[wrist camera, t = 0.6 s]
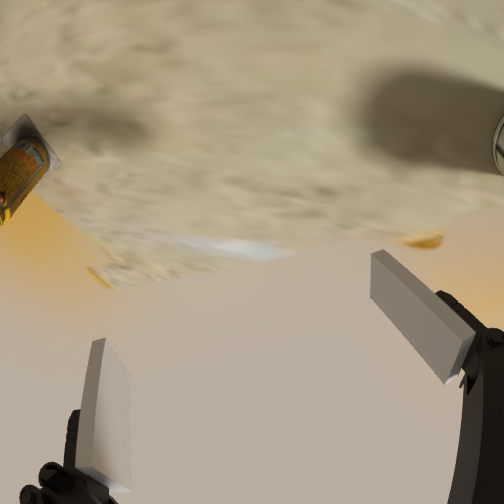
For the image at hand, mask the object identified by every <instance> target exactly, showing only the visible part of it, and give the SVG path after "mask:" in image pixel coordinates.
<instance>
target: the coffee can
mask: <svg viewBox="0 0 504 504" xmlns="http://www.w3.org/2000/svg"><path fill="white" fill-rule="evenodd" d="M492 151H493V158H494V161H495V164H496V166H497V168H498V169H499V171H500V172H501V173H502V174H503V175H504V115H503V117H502V118H501V120H500V122H499V123H498V126H497V128H496V131H495V134H494V138H493V145H492Z"/></svg>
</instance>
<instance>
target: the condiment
mask: <svg viewBox="0 0 504 504" xmlns="http://www.w3.org/2000/svg"><path fill="white" fill-rule="evenodd" d="M33 135H34V136H33ZM1 140H2V142H3V143H4V145H5V146H6V147H7V149H8V151H7V152H6V153H5V154H4V155H3V156H2V157H1V158H0V227H1V226H2V225H3V222H7V221H8V220H9V219H10V218H11V217H12V215H13V214H14V212H15V211H16V209H17V208H18V207H19V206H20V204H21V203H22V202H23V200H24V199H25V197H27V195H28V194H29V193H30V191H31V190H32V189H33V188H34V186H35V185H36V184H37V183H38V181H39V180H41V179H42V178H43V177H45V176H46V175H47V174H49V173H50V172H52V171H53V170H55V169H56V168H58V167H59V166H61V165H62V164H61V162H60V161H59V160H58V158H57V157H56V155H55V154H54V153H53V152H52V150H51V148H50V147H49V146H48V145H47V144H46V142H45V141H44V140H43V138H42V137H41V136H40V135H39V134H38V132H37V130H36V129H35V127H34V126H33V125H32V123H31V122H30V121H29V120H28V119H27V117H26V115H25V114H23V116H22V117H21V118H20V119H19V120H18V121H17V122H16V123H15V124H14V125H13V126H12V127H11V129H10V130H9V131H8V132H7V133H6V134H5V135H4V136H3V138H2V139H1ZM15 142H16V143H15Z"/></svg>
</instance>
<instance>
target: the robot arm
mask: <svg viewBox="0 0 504 504" xmlns="http://www.w3.org/2000/svg"><path fill="white" fill-rule="evenodd" d="M370 298H371V299H372V300H373V301H374V302H375V303H376V304H377V305H378V307H379V308H380V309H381V310H382V311H383V312H384V313H385V315H386V316H387V317H388V318H389V319H390V320H391V321H392V323H393V324H394V325H395V326H396V327H397V328H398V329H399V331H401V333H402V334H403V335H404V337H405V338H406V339H407V340H408V341H409V342H410V344H411V345H412V346H413V347H414V348H415V350H416V351H417V352H418V353H419V354H420V356H421V357H422V358H423V359H424V360H425V362H426V363H427V364H428V365H429V366H430V368H431V369H432V370H433V371H434V373H435V374H436V375H437V376H438V377H439V379H440V380H441V381H442V382H443V384H444V385H446V384H447V383H449V382H450V381H452V380H453V379H455V378H456V377H458V375H459V372H460V370H461V368H462V369H463V370H464V371H465V375H464V377H463V379H462V381H461V383H460V386H459V387H460V388H461V387H462V385H463V384H464V391H463V408H462V419H461V429H460V438H459V446H458V452H457V459H456V465H455V471H454V476H453V481H452V486H451V490H450V494H449V499H448V503H447V504H504V332H503V331H502V330H500V329H497V328H487V327H485V326H484V325H483V324H482V323H481V322H480V321H479V320H478V319H477V318H475V316H474V315H472V314H471V313H470V312H469V311H468V310H467V309H465V308H464V306H463V305H462V304H460V303H458V301H457V300H456V299H455V298H454V297H453V296H452V295H450V294H448V293H446V292H444V291H441V290H440V291H438V292H436V293H434V292H433V291H431V290H430V289H429V288H428V287H427V286H426V285H425V284H424V283H422V282H421V281H420V280H419V279H418V278H417V277H416V276H415V275H413V274H412V273H411V272H410V271H409V270H408V269H406V268H405V267H404V266H403V265H402V264H401V263H399V262H398V261H397V260H396V259H395V258H394V257H392V256H391V255H390V254H389V253H388V252H386V251H385V250H384V249H383V250H380V251H377V252H374V253H372V254H371V289H370ZM130 401H131V373H130V372H129V370H128V369H127V367H126V366H125V365H124V363H123V362H122V361H121V359H120V358H119V356H118V355H117V353H116V352H115V351H114V349H113V348H112V346H111V345H110V343H109V342H108V340H107V339H106V338H103V339H99V340H95V341H93V342H92V346H91V351H90V356H89V362H88V367H87V372H86V378H85V384H84V390H83V396H82V404H81V409H79V410H74V411H73V412H72V414H71V416H70V418H69V420H68V427H67V432H68V433H67V434H66V440H67V441H66V443H65V452H64V463H63V467H62V466H61V465H59V464H58V463H55V462H48V463H47V464H45V465H44V466H43V467H42V468H41V470H40V472H39V483H40V486H41V487H43V488H41V489H39V488H37V487H35V486H34V485H26V486H25V487H23V489H22V490H21V492H20V497H19V499H20V504H118V503H117V502H116V501H115V500H114V498H112V497H111V496H110V495H109V489H111V490H113V491H114V492H116V493H120V492H132V491H133V490H132V473H131V448H130V446H131V445H130Z"/></svg>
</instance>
